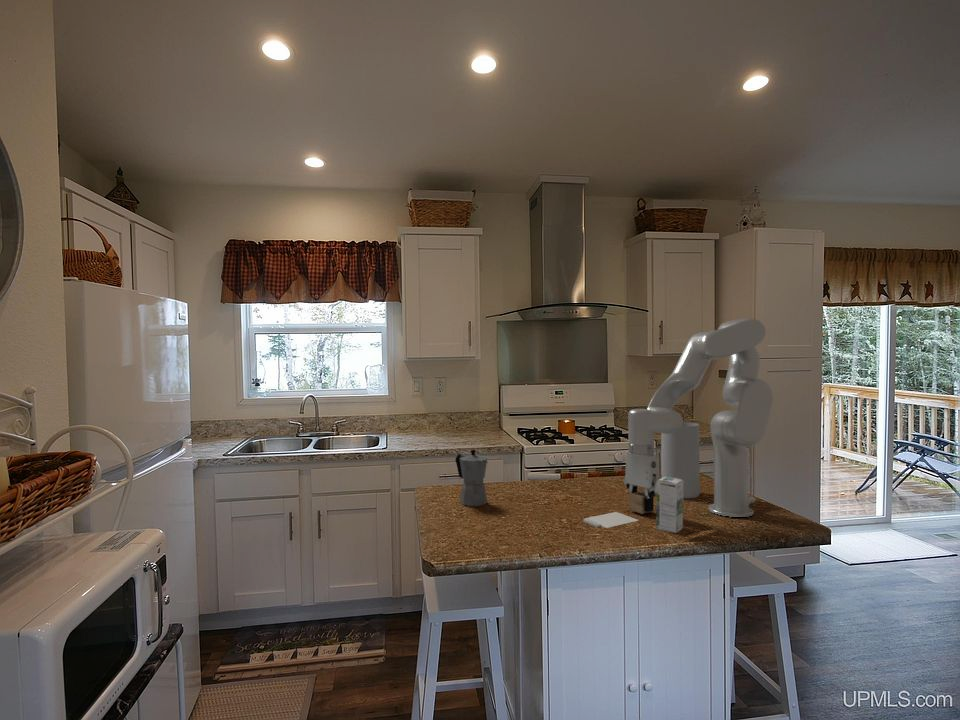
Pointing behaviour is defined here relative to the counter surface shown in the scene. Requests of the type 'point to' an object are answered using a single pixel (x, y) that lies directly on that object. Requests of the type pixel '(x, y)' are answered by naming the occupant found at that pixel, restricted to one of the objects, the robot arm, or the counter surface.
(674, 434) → the cylinder vase
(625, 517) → the clipboard
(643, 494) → the walnut block
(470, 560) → the counter surface
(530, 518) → the counter surface
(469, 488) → the coffeepot
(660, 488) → the syrup box
